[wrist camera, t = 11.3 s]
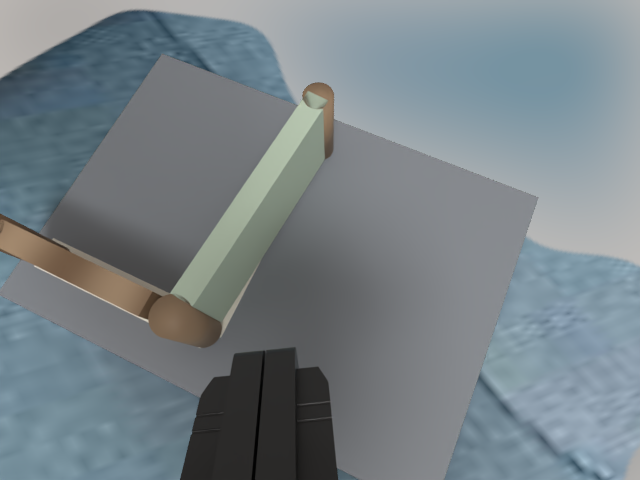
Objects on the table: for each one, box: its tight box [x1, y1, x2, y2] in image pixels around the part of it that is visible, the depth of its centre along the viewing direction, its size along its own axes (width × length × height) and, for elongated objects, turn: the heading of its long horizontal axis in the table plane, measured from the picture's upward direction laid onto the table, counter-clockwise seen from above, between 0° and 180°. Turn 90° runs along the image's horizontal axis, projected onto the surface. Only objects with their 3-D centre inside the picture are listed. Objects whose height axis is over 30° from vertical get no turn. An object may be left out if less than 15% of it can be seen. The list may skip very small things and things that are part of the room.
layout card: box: [0, 54, 538, 480], centre depth 32 cm, size 23×33×1 cm
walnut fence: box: [0, 214, 162, 320], centre depth 28 cm, size 12×2×7 cm, turn 65°
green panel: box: [148, 83, 334, 348], centre depth 29 cm, size 18×2×7 cm, turn 150°
